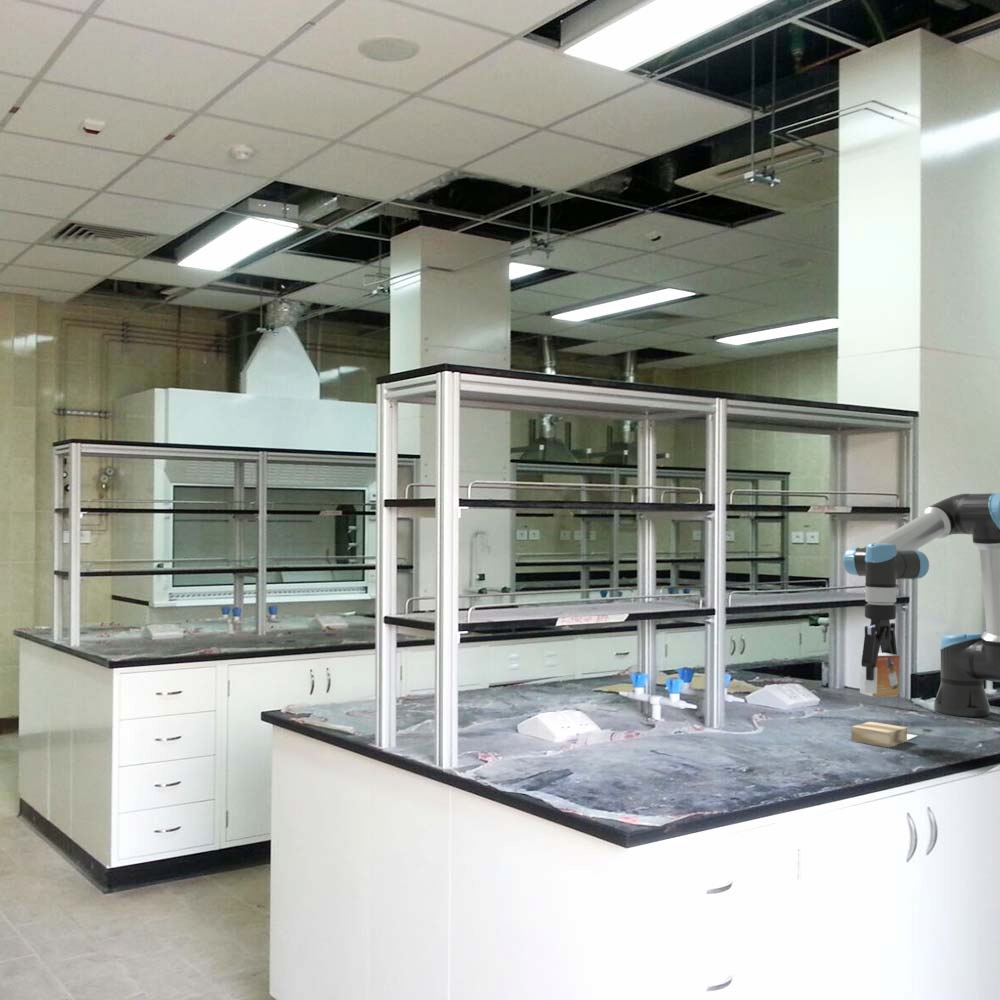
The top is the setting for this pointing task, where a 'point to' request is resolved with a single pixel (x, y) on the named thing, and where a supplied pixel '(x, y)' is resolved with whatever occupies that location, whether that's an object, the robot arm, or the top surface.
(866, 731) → the base block
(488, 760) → the top surface
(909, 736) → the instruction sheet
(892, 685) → the small box
